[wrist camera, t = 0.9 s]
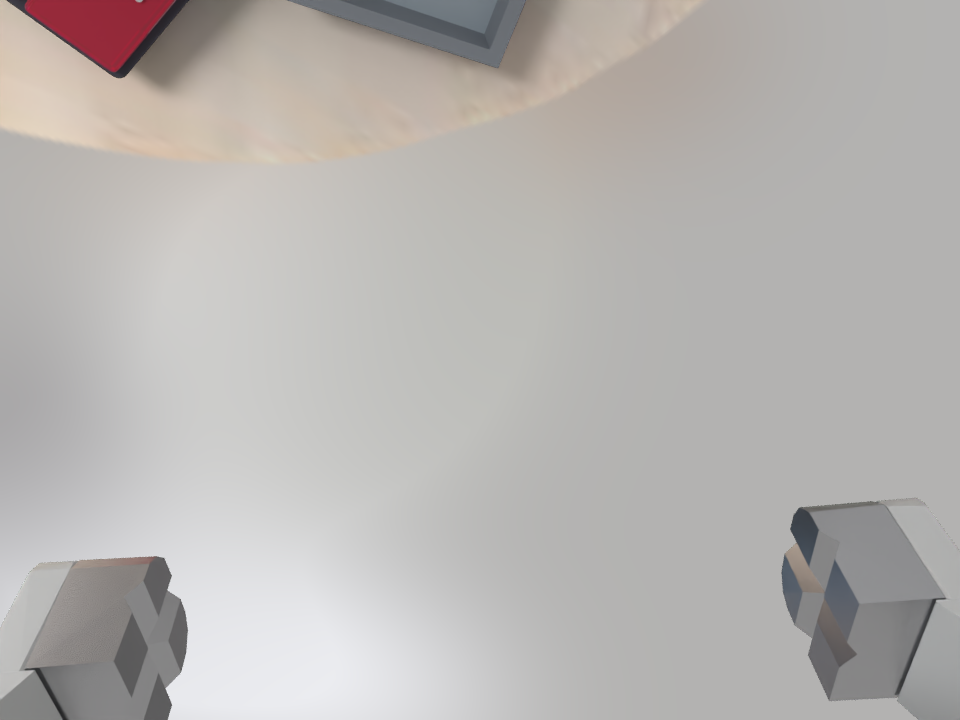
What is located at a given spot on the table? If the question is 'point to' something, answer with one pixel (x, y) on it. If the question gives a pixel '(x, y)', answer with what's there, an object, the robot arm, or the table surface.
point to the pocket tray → (436, 22)
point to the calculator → (105, 27)
